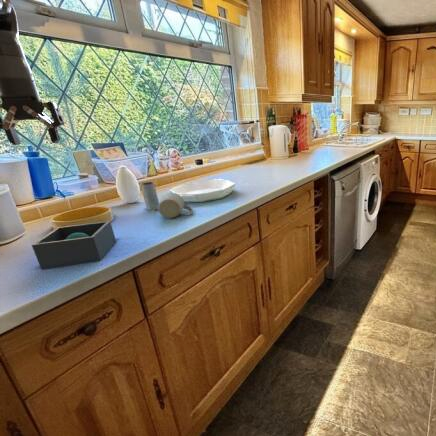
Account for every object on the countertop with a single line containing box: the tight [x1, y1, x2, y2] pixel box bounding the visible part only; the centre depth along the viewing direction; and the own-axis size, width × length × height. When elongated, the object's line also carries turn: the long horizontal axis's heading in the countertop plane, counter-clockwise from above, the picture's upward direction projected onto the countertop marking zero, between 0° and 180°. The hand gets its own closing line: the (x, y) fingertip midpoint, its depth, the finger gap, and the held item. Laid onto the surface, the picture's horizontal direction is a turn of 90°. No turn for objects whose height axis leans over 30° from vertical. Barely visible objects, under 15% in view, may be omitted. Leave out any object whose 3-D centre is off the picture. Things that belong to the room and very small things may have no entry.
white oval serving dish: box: [168, 178, 236, 203], centre depth 133 cm, size 31×26×4 cm
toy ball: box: [65, 233, 89, 240], centre depth 79 cm, size 6×6×6 cm
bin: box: [31, 221, 117, 270], centre depth 79 cm, size 12×12×6 cm
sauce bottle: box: [115, 160, 141, 204], centre depth 124 cm, size 8×8×18 cm
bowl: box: [49, 205, 114, 230], centre depth 102 cm, size 16×16×4 cm
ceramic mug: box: [157, 192, 194, 219], centre depth 108 cm, size 11×8×8 cm
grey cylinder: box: [140, 181, 160, 211], centre depth 115 cm, size 4×4×10 cm
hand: (36, 143), depth 81 cm, fingers open, 8 cm apart
